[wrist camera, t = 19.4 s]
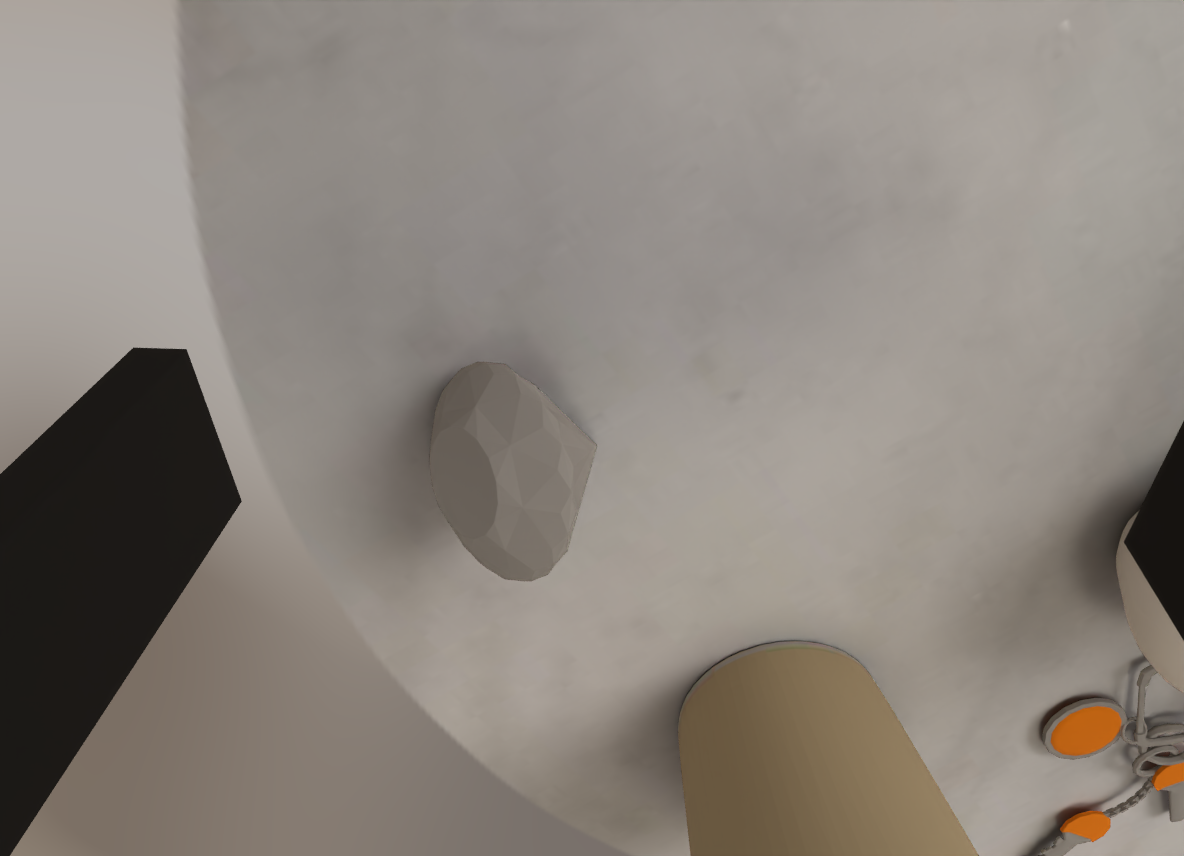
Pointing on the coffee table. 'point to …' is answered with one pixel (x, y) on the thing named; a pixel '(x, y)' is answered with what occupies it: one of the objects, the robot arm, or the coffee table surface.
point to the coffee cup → (805, 762)
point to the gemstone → (507, 470)
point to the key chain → (1093, 732)
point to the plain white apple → (1149, 618)
